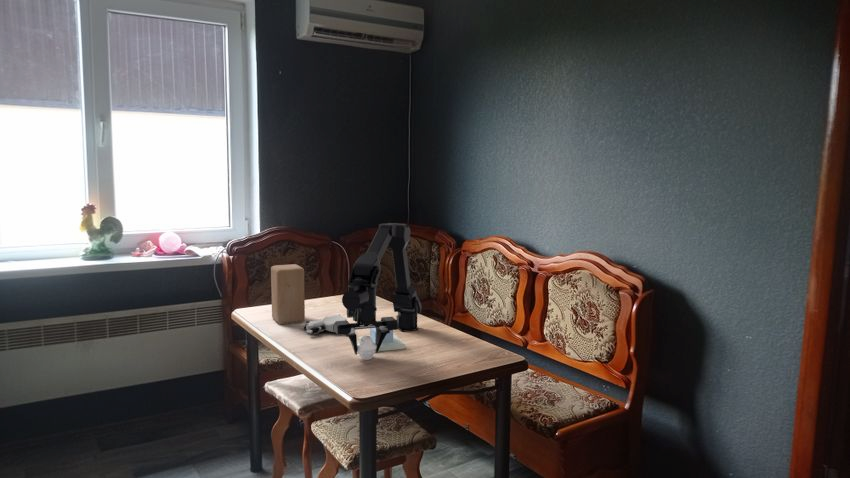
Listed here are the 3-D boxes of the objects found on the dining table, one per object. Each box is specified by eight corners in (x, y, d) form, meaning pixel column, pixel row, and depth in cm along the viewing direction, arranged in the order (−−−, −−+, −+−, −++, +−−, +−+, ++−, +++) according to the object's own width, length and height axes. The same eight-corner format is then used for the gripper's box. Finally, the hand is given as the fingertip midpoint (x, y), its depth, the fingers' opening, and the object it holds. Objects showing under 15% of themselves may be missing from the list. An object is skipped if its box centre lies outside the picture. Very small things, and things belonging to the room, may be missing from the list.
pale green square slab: (393, 337, 210) (393, 333, 210) (404, 348, 199) (405, 344, 199) (358, 341, 206) (358, 336, 206) (368, 352, 195) (368, 347, 195)
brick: (387, 336, 206) (387, 325, 206) (393, 342, 201) (393, 330, 200) (370, 338, 204) (370, 326, 203) (375, 344, 198) (375, 331, 198)
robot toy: (308, 341, 209) (351, 333, 214) (307, 328, 208) (350, 321, 213) (300, 331, 220) (342, 324, 225) (299, 319, 219) (341, 312, 225)
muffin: (376, 354, 193) (376, 332, 192) (377, 361, 187) (377, 338, 186) (355, 355, 192) (355, 332, 191) (356, 361, 186) (356, 338, 185)
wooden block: (278, 325, 224) (277, 270, 221) (271, 318, 232) (270, 265, 230) (305, 322, 228) (304, 268, 226) (297, 315, 237) (297, 263, 234)
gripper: (388, 294, 198) (388, 342, 200) (329, 298, 191) (330, 348, 194) (399, 302, 188) (398, 353, 190) (337, 307, 181) (338, 359, 183)
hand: (366, 353), depth 189 cm, fingers closed on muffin, 6 cm apart
